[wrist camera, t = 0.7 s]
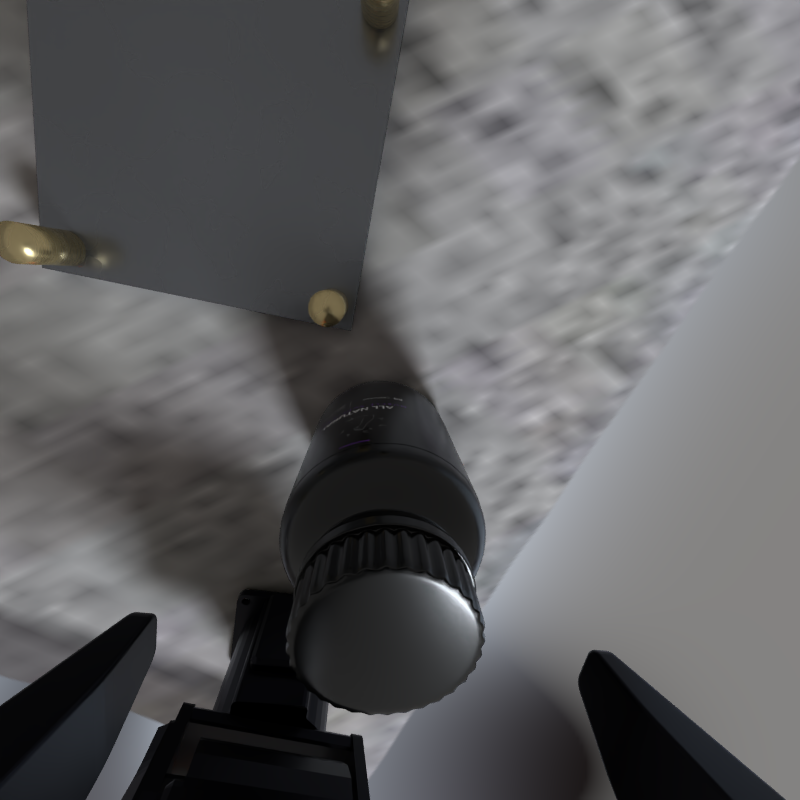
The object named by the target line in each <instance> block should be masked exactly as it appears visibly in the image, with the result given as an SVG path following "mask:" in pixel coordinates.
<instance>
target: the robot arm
mask: <svg viewBox="0 0 800 800" xmlns="http://www.w3.org/2000/svg"><path fill="white" fill-rule="evenodd" d="M245 598H247V599H249V600H247V599H245ZM292 605H293V594H285V593H276V592H266V591H257V590H244V591H242V592H241V593H240V595H239V598H238V600H237V608H236V617H235V626H234V635H233V644H232V653H231V661H230V664H229V667H228V670H227V672H226V675H225V678H224V681H223V683H222V686H221V689H220V691H219V694H218V697H217V700H216V702H215V705H214V708H213V710H209V709H204V708H198V707H195V705H196V704H191V703H185V702H184V703H183V705H182V707H181V709H180V711H179V713H178V715H177V718H176V720H173V721H172V720H171V721H170V722H169V723H168V724H166V725H163V726H161V727H158V730H157V732H156V734H155V736H154V738H153V740H152V742H151V744H150V746H149V749H148V751H147V753H146V755H145V757H144V759H143V761H142V763H141V765H140V767H139V769H138V771H137V773H136V775H135V777H134V779H133V781H132V782H131V784H130V786H129V787H128V789H127V791H126V793H125V794H124V796H123V798H122V800H370V796H369V788H368V779H367V771H366V763H365V754H364V746H363V738H362V736H361V735H355V734H351V735H350V736H348V735H343V734H337V733H332V732H327V731H326V722H327V712H328V702H325V701H321V700H320V699H319V698H318V697H317V696H316V695H315V694H313V693H311V692H309V691H307V689H306V687H305V685H304V684H303V683H302V682H300V681H299V680H297V678H296V672H295V671H294V670H293V669H292V668H291V667H290V666H289V665H290V658H289V656H288V655H287V653H286V643H287V638H286V629H287V625H288V621H289V617H290V613H291V609H292ZM156 633H157V617H156V615H155V614H152V613H140V612H134V613H131V614H129V615H127V616H126V617H124V618H123V619H122V620H120V621H119V622H117V623H116V624H115V625H113V626H112V627H110V628H109V629H108V630H106V631H105V632H103V633H102V634H100V635H99V636H98V637H96V638H95V639H93V640H92V641H91V642H89V643H88V644H86V645H85V646H84V647H82V648H81V649H79V650H78V651H77V652H75V653H74V654H72V655H71V656H69V657H68V658H67V659H65V660H64V661H62V662H61V663H60V664H58V665H57V666H55V667H54V668H53V669H51V670H50V671H48V672H47V673H46V674H44V675H43V676H41V677H40V678H39V679H37V680H36V681H34V682H33V683H31V684H30V685H29V686H27V687H26V688H24V689H23V690H22V691H20V692H19V693H17V694H16V695H15V696H13V697H12V698H10V699H9V700H8V701H6V702H5V703H3V704H2V705H1V706H0V800H86V798H87V796H88V794H89V793H90V791H91V789H92V787H93V785H94V783H95V782H96V780H97V778H98V776H99V774H100V772H101V770H102V769H103V767H104V765H105V763H106V761H107V759H108V757H109V755H110V752H111V750H112V748H113V746H114V744H115V742H116V740H117V737H118V735H119V733H120V731H121V729H122V726H123V724H124V722H125V720H126V717H127V715H128V713H129V711H130V709H131V707H132V704H133V702H134V700H135V698H136V696H137V693H138V691H139V689H140V687H141V685H142V682H143V680H144V678H145V676H146V673H147V671H148V669H149V667H150V665H151V662H152V660H153V657H154V654H155V650H156ZM578 685H579V690H580V694H581V697H582V700H583V703H584V706H585V709H586V712H587V715H588V718H589V721H590V724H591V727H592V730H593V733H594V736H595V739H596V743H597V746H598V749H599V752H600V755H601V758H602V761H603V763H604V767H605V770H606V772H607V775H608V778H609V781H610V783H611V786H612V788H613V791H614V794H615V796H616V798H617V800H785V799H784V798H783V797H782V796H781V795H779V794H778V793H777V792H776V791H775V790H774V789H773V788H771V787H770V786H769V785H768V784H767V783H765V782H764V781H763V780H762V779H760V777H758V776H757V775H756V774H755V773H754V772H752V771H751V770H750V769H749V768H748V767H746V766H745V765H744V764H743V763H742V762H741V761H739V760H738V759H737V758H736V757H735V756H733V755H732V754H731V753H730V752H729V751H728V750H726V749H725V748H724V747H723V746H722V745H720V744H719V743H718V742H717V741H716V740H715V739H713V738H712V737H711V736H710V735H708V734H707V733H706V732H705V731H704V730H703V729H702V728H700V727H699V726H698V725H696V723H694V722H693V721H692V720H691V719H689V718H688V717H687V716H686V715H685V714H684V713H682V712H681V711H680V710H679V709H678V708H677V707H675V706H674V705H673V704H672V703H671V702H670V701H668V700H667V699H666V698H664V696H662V695H661V694H660V693H659V692H658V691H657V690H655V689H654V688H653V687H652V686H651V685H649V684H648V683H647V682H646V681H645V680H644V679H642V678H641V677H640V676H639V675H637V674H636V673H635V672H634V671H633V670H631V668H629V667H628V666H627V665H626V664H625V663H623V662H622V661H621V660H620V659H618V658H617V657H616V656H615V655H614V654H613V653H611V652H609V651H601V650H592V651H590V652H589V653H588V656H587V658H586V660H585V663H584V665H583V667H582V670H581V672H580V674H579V678H578Z"/></svg>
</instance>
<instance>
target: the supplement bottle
mask: <svg viewBox="0 0 800 800" xmlns="http://www.w3.org/2000/svg"><path fill="white" fill-rule="evenodd" d="M485 540H486V530H485V521H484V516H483V512H482V509H481V506H480V503H479V500H478V498H477V495H476V493H475V491H474V489H473V486H472V484H471V482H470V480H469V478H468V475H467V473H466V471H465V469H464V466H463V464H462V462H461V460H460V458H459V455H458V453H457V451H456V449H455V447H454V444H453V442H452V440H451V438H450V436H449V433H448V431H447V429H446V427H445V425H444V423H443V421H442V419H441V417H440V415H439V413H438V411H437V410H436V408H435V407H434V406H433V405H432V403H431V402H430V401H429V400H428V399H427V398H426V397H425V396H423V395H422V394H421V393H419V392H418V391H416V390H414V389H412V388H410V387H408V386H406V385H403V384H399V383H395V382H388V381H375V382H368V383H364V384H360V385H357V386H355V387H353V388H350V389H348V390H347V391H345V392H343V393H342V394H341V395H339V396H338V397H337V398H336V399H335V400H334V401H333V402H332V403H331V404H330V405H329V406H328V408H327V409H326V410H325V412H324V414H323V415H322V417H321V419H320V421H319V424H318V426H317V428H316V430H315V433H314V435H313V438H312V441H311V443H310V446H309V448H308V451H307V453H306V456H305V458H304V461H303V463H302V466H301V468H300V471H299V473H298V476H297V478H296V481H295V483H294V486H293V488H292V491H291V494H290V496H289V499H288V501H287V504H286V507H285V510H284V514H283V517H282V521H281V526H280V535H279V544H280V553H281V559H282V562H283V565H284V569H285V571H286V574H287V576H288V578H289V580H290V582H291V584H292V585H293V587H294V594H293V605H292V609H291V613H290V617H289V621H288V625H287V629H286V638H287V643H286V653H287V655H288V656H289V658H290V665H289V666H290V667H291V668H292V669H293V670H294V671H295V672H296V678H297V680H299V681H300V682H302V683H303V684H304V685H305V687H306V689H307V691H309V692H311V693H313V694H315V695H316V696H317V697H318V698H319V699H320V700H321V701H325V702H328V703H330V704H331V705H333V706H334V707H335V708H343V709H346V710H348V711H350V712H362V713H365V714H368V715H373V714H384V715H390V714H393V713H406V712H408V711H411V710H413V709H419V708H424V707H425V706H427V705H428V704H430V703H434V702H438V701H440V700H441V699H442V698H443V697H444V696H446V695H448V694H451V693H453V692H454V691H455V690H456V688H457V687H458V686H459V685H460V684H462V683H464V682H465V681H466V680H467V677H468V675H469V674H470V673H471V672H472V671H474V670H475V668H476V662H477V661H478V660H479V658H480V657H481V656H482V651H481V648H482V646H483V645H484V642H485V635H484V628H485V624H484V618H483V615H482V612H481V608H480V605H479V602H478V598H477V595H476V585H475V579H474V578H475V576H476V574H477V572H478V569H479V567H480V564H481V561H482V557H483V553H484V548H485Z"/></svg>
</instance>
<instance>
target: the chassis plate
mask: <svg viewBox="0 0 800 800" xmlns="http://www.w3.org/2000/svg"><path fill="white" fill-rule="evenodd" d="M408 3H409V0H27V14H28V31H29V49H30V66H31V83H32V100H33V117H34V134H35V151H36V168H37V185H38V202H39V219H40V226H37V225H31V224H24V223H18V222H12V221H2V222H0V256H1V257H2V258H4V259H5V260H7V261H9V262H11V263H15V264H33V265H42V268H46V269H51V270H56V271H61V272H66V273H71V274H76V275H80V276H85V277H90V278H95V279H100V280H105V281H110V282H115V283H120V284H124V285H129V286H134V287H139V288H144V289H149V290H154V291H159V292H163V293H168V294H173V295H178V296H183V297H188V298H193V299H198V300H203V301H207V302H212V303H217V304H222V305H227V306H232V307H237V308H242V309H247V310H251V311H256V312H261V313H266V314H271V315H276V316H281V317H286V318H291V319H295V320H300V321H305V322H310V323H315V324H318V325H320V326H324V327H334V328H339V329H344V330H349V331H351V328H352V323H353V317H354V311H355V305H356V300H357V294H358V288H359V283H360V277H361V271H362V266H363V260H364V254H365V248H366V243H367V237H368V231H369V226H370V220H371V214H372V209H373V203H374V197H375V191H376V186H377V180H378V174H379V169H380V163H381V157H382V152H383V146H384V140H385V135H386V129H387V123H388V117H389V112H390V106H391V100H392V95H393V89H394V83H395V78H396V72H397V66H398V60H399V55H400V49H401V43H402V38H403V32H404V26H405V21H406V15H407V9H408Z"/></svg>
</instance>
